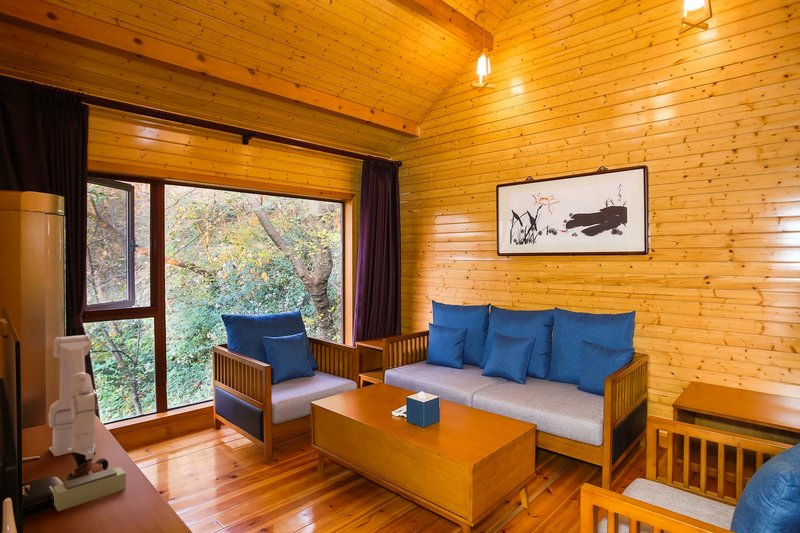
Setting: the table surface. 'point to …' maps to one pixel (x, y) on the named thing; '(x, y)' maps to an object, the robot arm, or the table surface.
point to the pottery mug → (88, 468)
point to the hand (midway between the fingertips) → (83, 474)
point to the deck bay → (88, 488)
